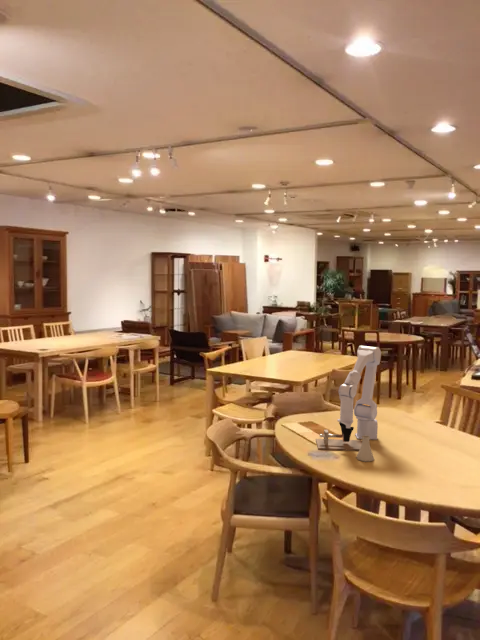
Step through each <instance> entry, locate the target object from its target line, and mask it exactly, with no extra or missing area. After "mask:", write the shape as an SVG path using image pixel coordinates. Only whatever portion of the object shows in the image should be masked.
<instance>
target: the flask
mask: <svg viewBox="0 0 480 640" xmlns="http://www.w3.org/2000/svg"><path fill="white" fill-rule="evenodd" d="M362 438H363V439H361V440H362V445H361V447H360V450H359V451H357V452H358V453H357V455H356V456H355V458H356V459H357V460H358V461H361V462H365V463H366V462H372V461H374V460H375V457H374V454H373V452H372V449H371V444H370V439H369V438H370V436H367V435H364V436H362Z"/></svg>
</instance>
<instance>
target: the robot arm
mask: <svg viewBox="0 0 480 640" xmlns="http://www.w3.org/2000/svg"><path fill="white" fill-rule="evenodd" d="M356 351H357V352H356V356H357V359H356V361H355V364H354V367H353V370H351V371H349V373H348V374H347V377H346V378H345V380H344V383H343V384H341V385H340V386H339V388H338V395H339V400H340V407H339V409H340V411H339V412H340V413H339V418H337V422H338V424H339V425H340V429H341V435H342V438H343V437H344V442H349V440H351V435H352V433H353V431H354V429H355V428H354V426H352V424H353V423H354V416H355V418H356V421H357V427H356V433H355V434H354V435H355V438H357V439H356V440H363V438H362V436H364V435H367V436H370V438H369V440H378V427H379V426H378V420H377V419H376V418H377V416H378V405H377V403H376V402H375V401H374V400H373V397H374V396H373V395H374V389H375V382H376V377H377V375H376V374H377V368H378V366H379V365H380V364H381V363H380V362H381V357H382V351H381V349H380V347H379V346H367V345H362V344H361V345H359V346H358V348H357V350H356ZM364 368H365V372H364V379H363V385H362V394H361V397H360V399H358V400H356V402H355V405H354V398H355V396H357V390H358V384H359V383H360V380H361V379H362V376H361V374H362V372H363V370H364Z"/></svg>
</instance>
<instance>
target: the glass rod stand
mask: <svg viewBox="0 0 480 640" xmlns="http://www.w3.org/2000/svg"><path fill="white" fill-rule="evenodd" d="M318 436H319V437H320V438H324V437H325V434H324V433H320V434H319V435H318ZM328 438H337V439H338V438H339V439H340V438H341V439H342V440H343V442H344V437H342V434H337V433H335V434H334V433H333V434H332V433H328Z"/></svg>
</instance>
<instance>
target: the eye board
mask: <svg viewBox="0 0 480 640" xmlns="http://www.w3.org/2000/svg"><path fill="white" fill-rule="evenodd" d="M323 434H325V437H323V438H315V443H316V446H317V450H320V451H325V450H326V451H348V452H351V451H352V452H359V450H360V447H361V445H362V440H363V439H350V440H349V442H343V439H338V438H337V439H335V438H333V439H331V438H329V437H328V434H329V429H323Z"/></svg>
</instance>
